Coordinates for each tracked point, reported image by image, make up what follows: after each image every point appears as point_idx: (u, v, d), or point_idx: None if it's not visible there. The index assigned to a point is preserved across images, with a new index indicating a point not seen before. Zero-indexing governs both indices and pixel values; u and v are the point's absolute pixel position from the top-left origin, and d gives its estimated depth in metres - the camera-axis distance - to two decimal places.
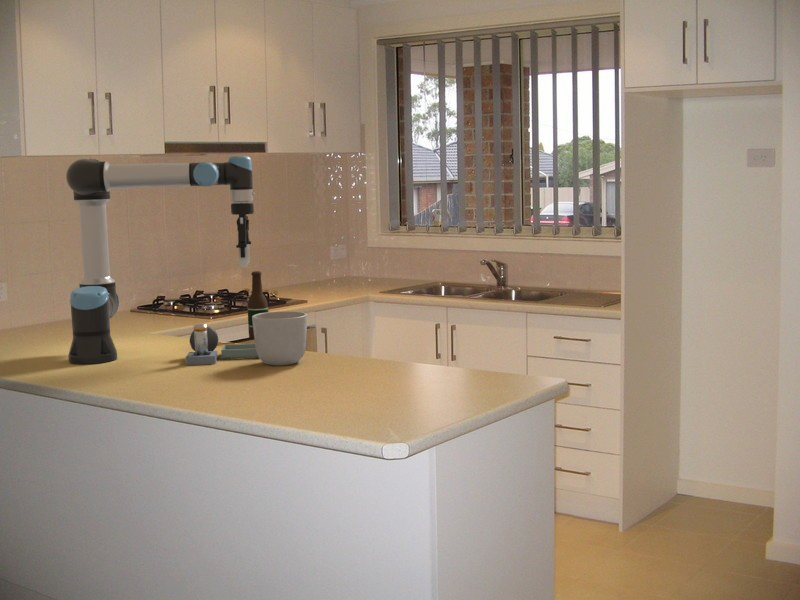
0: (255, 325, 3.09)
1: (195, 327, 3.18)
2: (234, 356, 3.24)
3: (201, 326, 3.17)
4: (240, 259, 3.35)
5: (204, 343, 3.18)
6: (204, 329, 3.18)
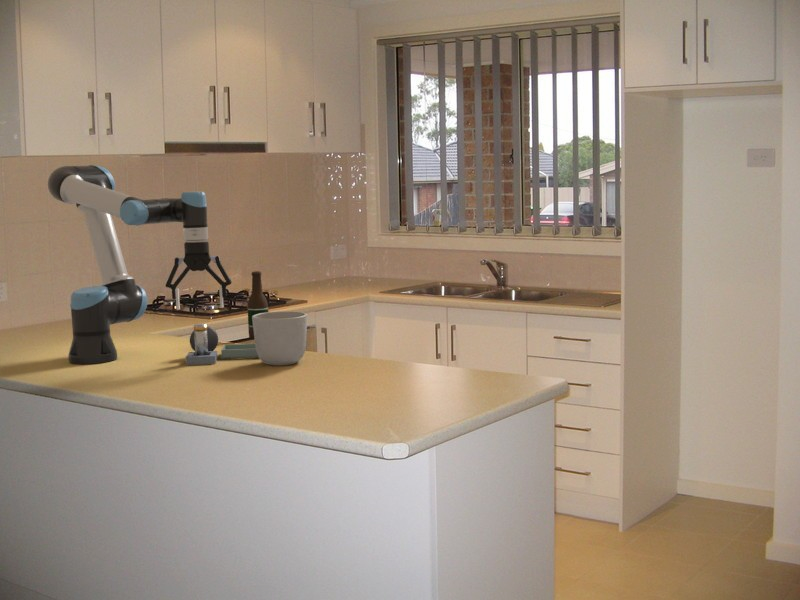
0: (255, 325, 3.09)
1: (195, 327, 3.18)
2: (234, 356, 3.24)
3: (201, 326, 3.17)
4: None
5: (204, 343, 3.18)
6: (204, 329, 3.18)
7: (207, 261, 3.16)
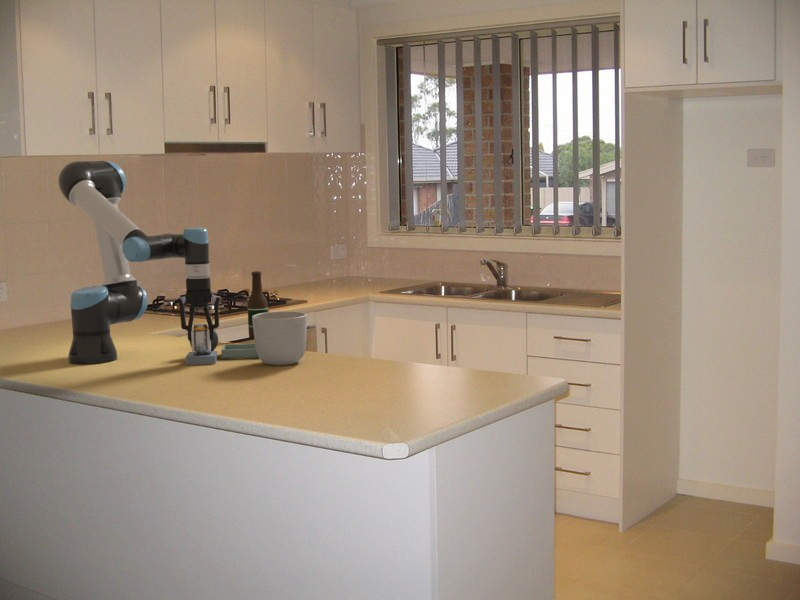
0: (255, 325, 3.09)
1: (195, 327, 3.18)
2: (234, 356, 3.24)
3: (201, 326, 3.17)
4: None
5: (204, 343, 3.18)
6: (204, 329, 3.18)
7: (207, 297, 3.17)
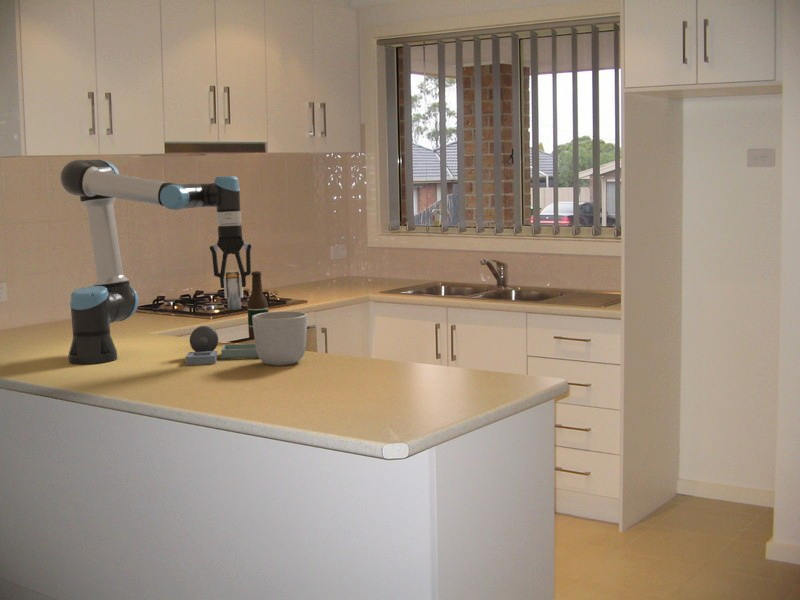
0: (255, 325, 3.09)
1: (227, 274, 3.22)
2: (234, 356, 3.24)
3: (233, 273, 3.22)
4: None
5: (236, 290, 3.23)
6: (236, 276, 3.22)
7: (239, 244, 3.22)
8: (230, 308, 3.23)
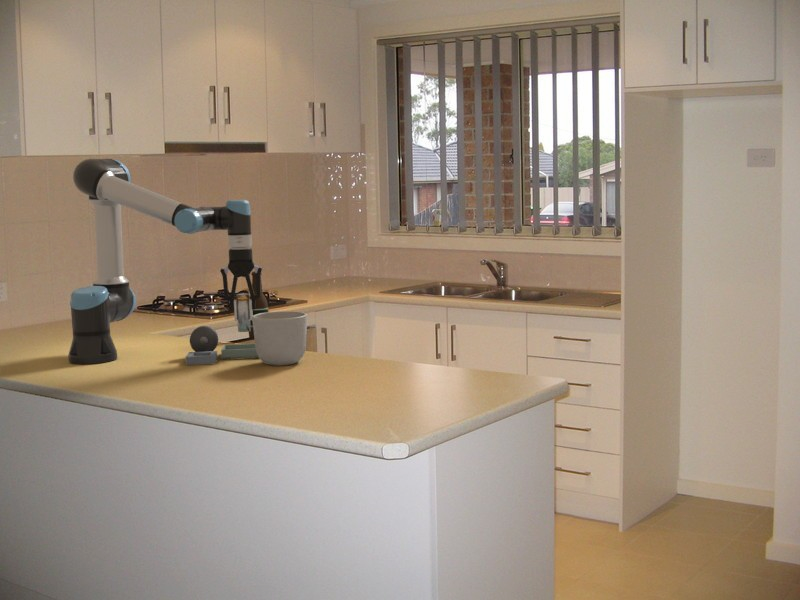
0: (255, 325, 3.09)
1: (238, 297, 3.26)
2: (234, 356, 3.24)
3: (244, 296, 3.25)
4: None
5: (246, 312, 3.26)
6: (246, 299, 3.26)
7: (250, 267, 3.25)
8: (240, 330, 3.27)
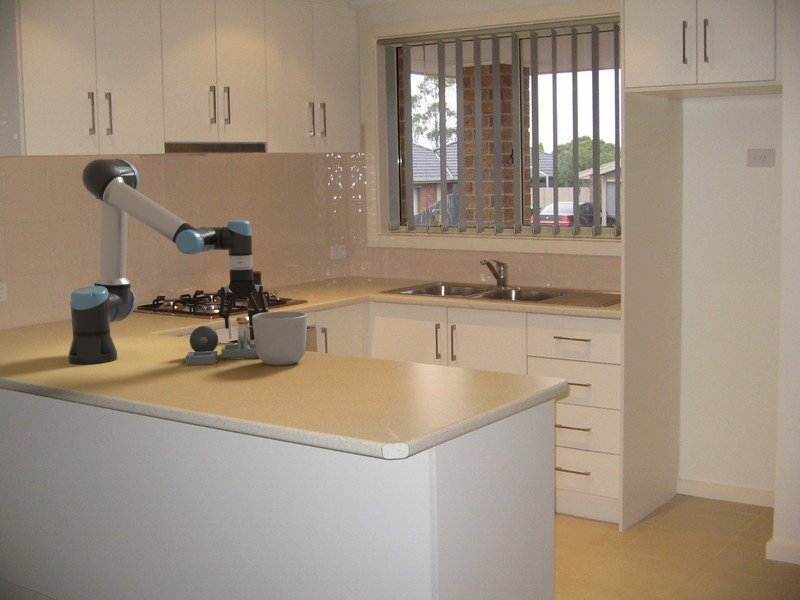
0: (255, 325, 3.09)
1: (238, 320, 3.26)
2: (234, 356, 3.24)
3: (244, 319, 3.26)
4: None
5: (247, 335, 3.27)
6: (246, 322, 3.27)
7: (251, 288, 3.26)
8: None
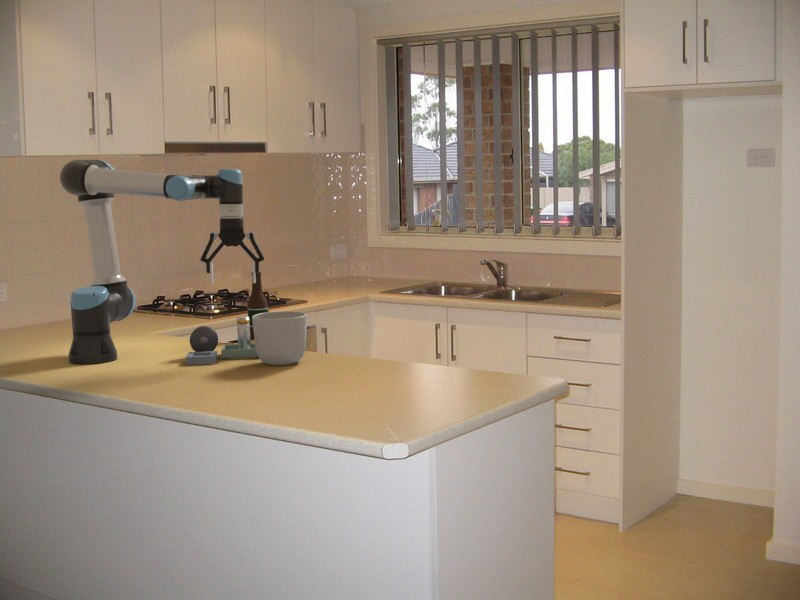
0: (255, 325, 3.09)
1: (238, 320, 3.26)
2: (234, 356, 3.24)
3: (244, 319, 3.26)
4: None
5: (247, 335, 3.27)
6: (247, 322, 3.27)
7: (241, 237, 3.25)
8: None
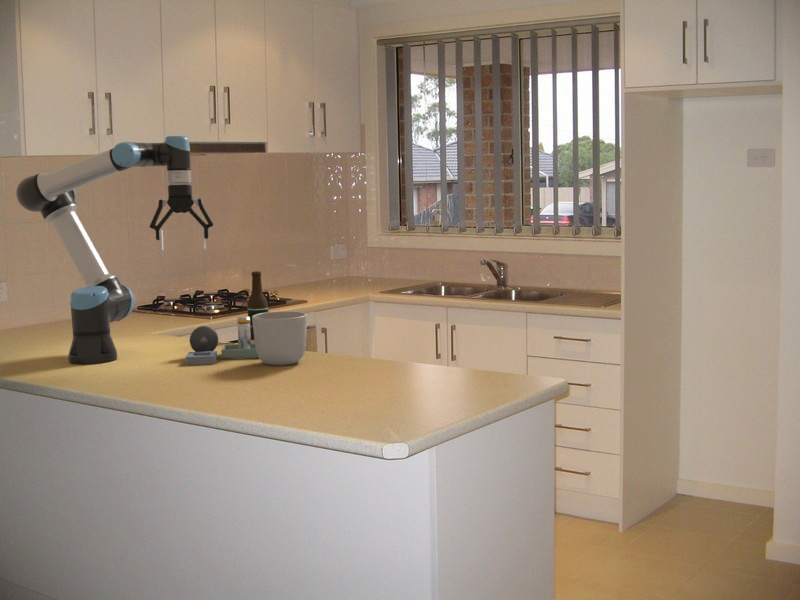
0: (255, 325, 3.09)
1: (239, 320, 3.27)
2: (234, 356, 3.24)
3: (245, 319, 3.26)
4: None
5: (247, 335, 3.27)
6: (247, 322, 3.27)
7: (190, 203, 3.28)
8: None
